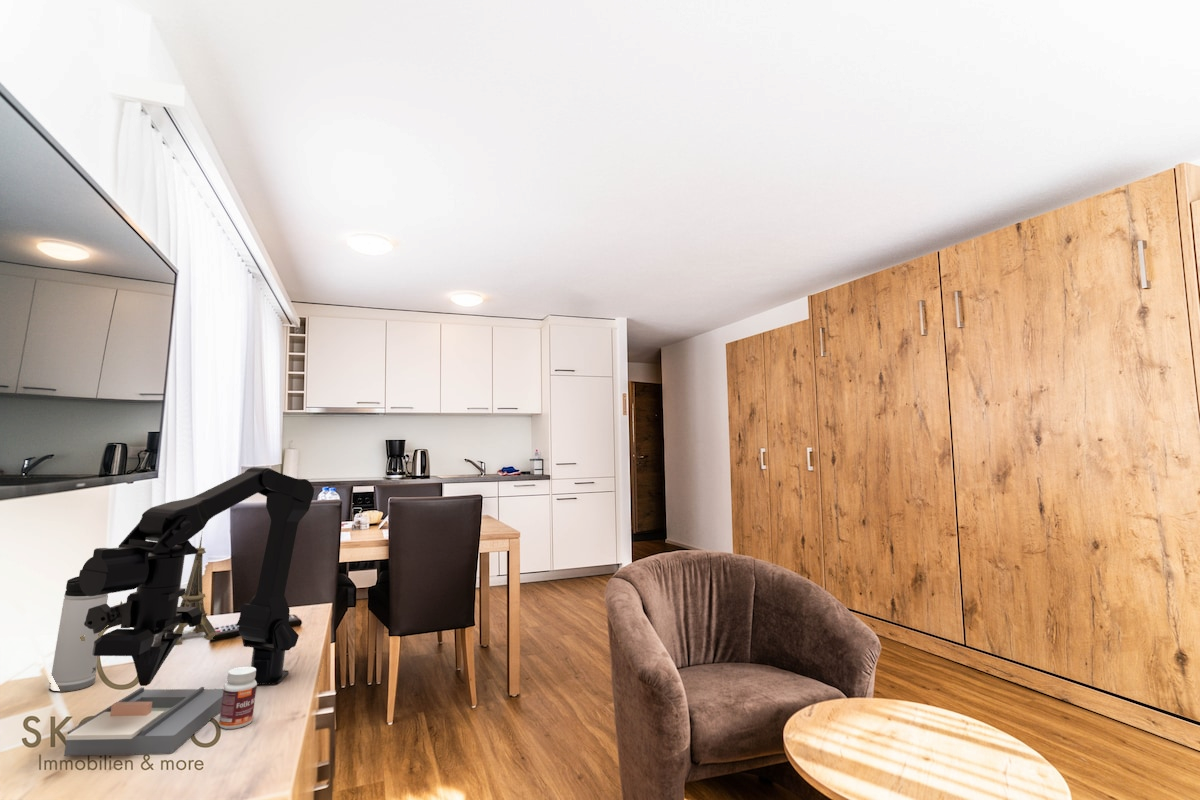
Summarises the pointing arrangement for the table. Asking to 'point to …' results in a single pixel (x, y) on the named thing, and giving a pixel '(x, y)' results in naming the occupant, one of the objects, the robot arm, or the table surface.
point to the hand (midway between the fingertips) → (144, 685)
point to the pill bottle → (238, 698)
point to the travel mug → (75, 640)
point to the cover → (118, 722)
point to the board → (157, 723)
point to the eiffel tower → (196, 599)
